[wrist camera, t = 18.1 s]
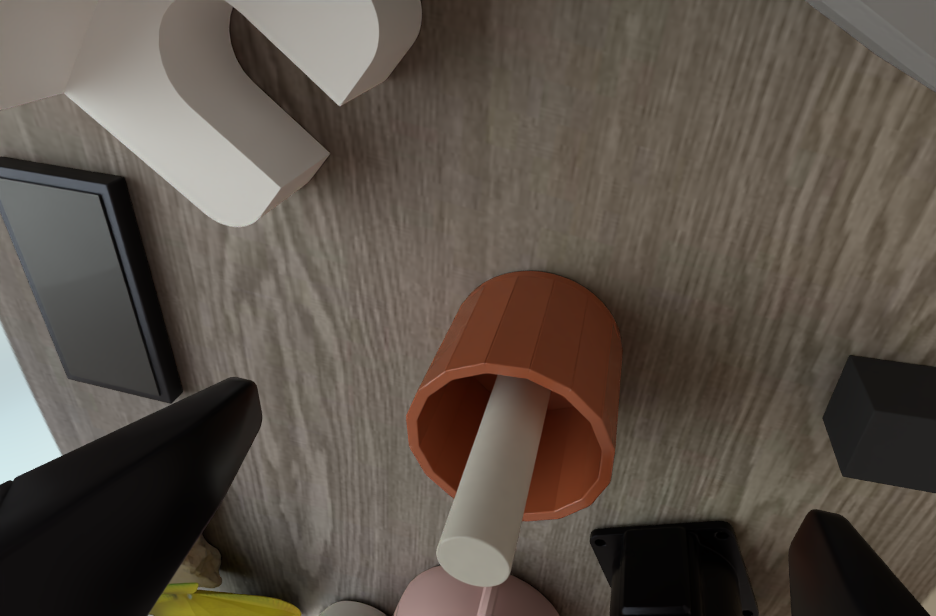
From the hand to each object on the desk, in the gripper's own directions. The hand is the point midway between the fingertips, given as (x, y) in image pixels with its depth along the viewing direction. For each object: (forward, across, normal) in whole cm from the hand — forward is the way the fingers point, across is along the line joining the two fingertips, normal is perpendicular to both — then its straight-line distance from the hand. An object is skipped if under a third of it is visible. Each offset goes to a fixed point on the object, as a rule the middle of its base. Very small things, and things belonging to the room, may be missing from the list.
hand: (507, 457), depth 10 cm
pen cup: (+13, +1, +7) cm, 15 cm away
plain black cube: (+13, -12, +6) cm, 19 cm away
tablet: (+13, +22, +9) cm, 27 cm away
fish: (+9, +23, +31) cm, 40 cm away
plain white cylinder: (+12, +1, +7) cm, 14 cm away
